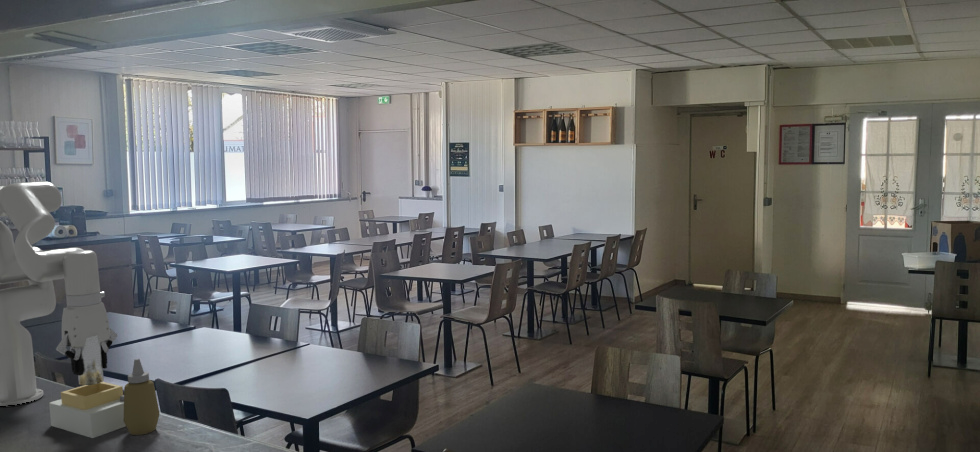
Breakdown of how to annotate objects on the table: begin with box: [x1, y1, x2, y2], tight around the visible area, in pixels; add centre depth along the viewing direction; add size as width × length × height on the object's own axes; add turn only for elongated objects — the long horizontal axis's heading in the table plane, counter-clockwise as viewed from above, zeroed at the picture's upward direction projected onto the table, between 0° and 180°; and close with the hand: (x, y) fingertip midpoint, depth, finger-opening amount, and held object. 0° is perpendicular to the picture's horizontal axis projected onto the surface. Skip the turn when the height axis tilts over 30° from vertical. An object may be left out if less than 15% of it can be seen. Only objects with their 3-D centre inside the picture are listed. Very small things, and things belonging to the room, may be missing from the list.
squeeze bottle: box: [123, 358, 161, 436], centre depth 180 cm, size 8×8×18 cm
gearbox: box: [48, 381, 126, 439], centre depth 187 cm, size 18×12×9 cm, turn 59°
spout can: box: [77, 335, 105, 386], centre depth 185 cm, size 6×6×14 cm
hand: (90, 370), depth 185 cm, fingers closed on spout can, 5 cm apart
